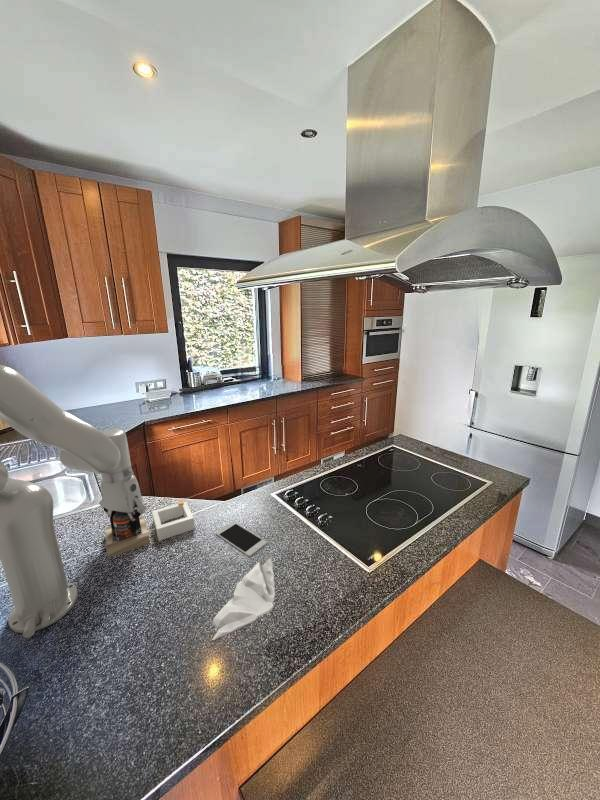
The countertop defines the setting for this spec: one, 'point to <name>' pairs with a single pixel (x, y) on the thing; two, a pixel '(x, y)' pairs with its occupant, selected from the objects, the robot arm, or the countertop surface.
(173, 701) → the countertop surface
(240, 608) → the cloth
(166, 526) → the socket block
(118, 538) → the supplement bottle
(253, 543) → the smartphone
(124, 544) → the block
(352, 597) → the countertop surface
